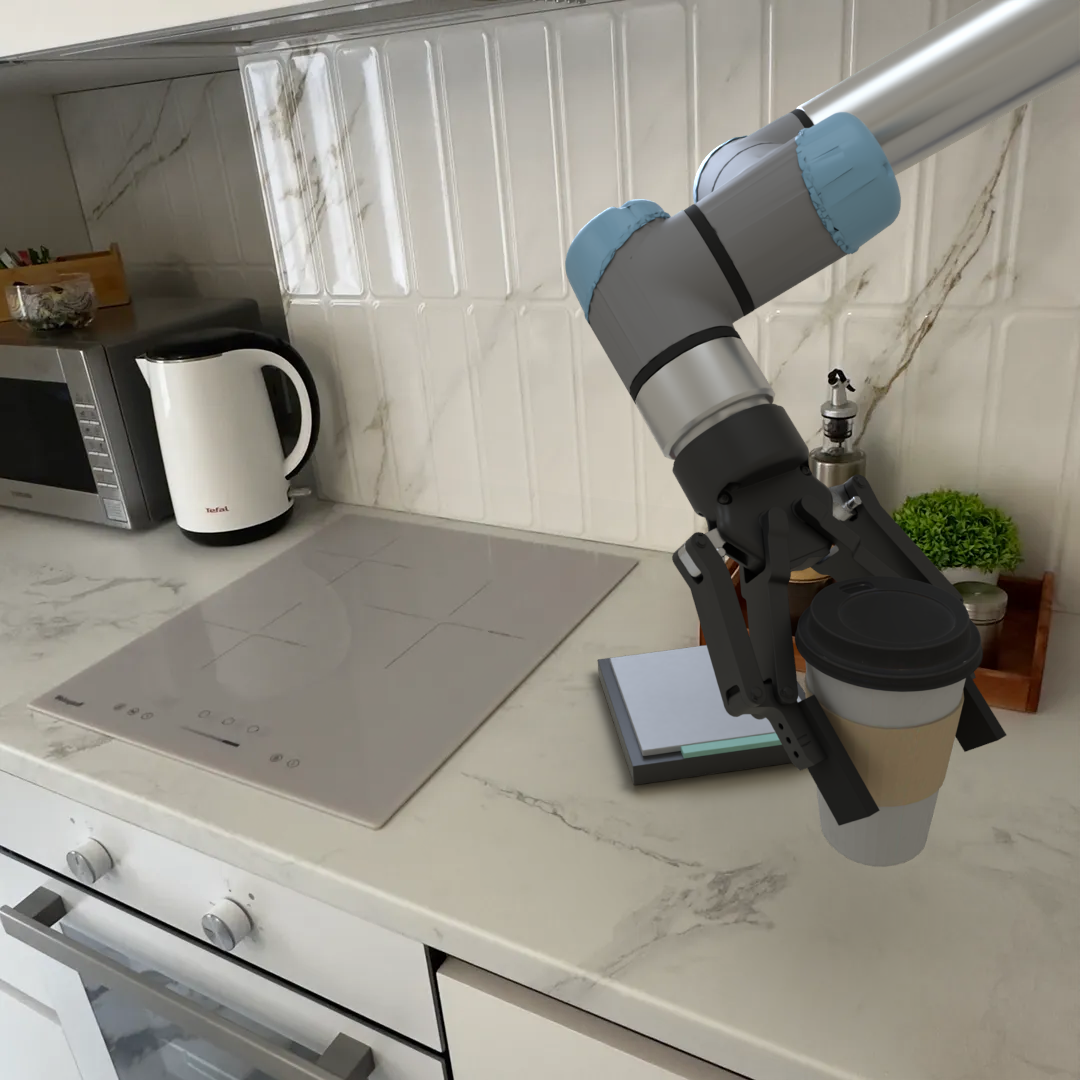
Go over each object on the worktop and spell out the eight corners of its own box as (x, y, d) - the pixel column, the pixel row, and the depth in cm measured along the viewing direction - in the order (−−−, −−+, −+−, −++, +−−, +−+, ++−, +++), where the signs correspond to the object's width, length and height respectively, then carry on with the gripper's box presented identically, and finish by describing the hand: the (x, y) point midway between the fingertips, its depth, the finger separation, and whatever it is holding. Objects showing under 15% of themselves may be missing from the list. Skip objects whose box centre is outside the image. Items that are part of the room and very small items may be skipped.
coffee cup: (842, 762, 63) (852, 554, 57) (988, 825, 57) (1017, 600, 51) (759, 840, 58) (760, 618, 51) (911, 920, 51) (934, 678, 45)
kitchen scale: (767, 653, 91) (768, 631, 90) (834, 756, 76) (835, 731, 75) (598, 675, 90) (597, 653, 89) (633, 785, 75) (632, 760, 74)
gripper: (821, 423, 67) (1005, 722, 61) (548, 511, 57) (736, 878, 51) (888, 360, 60) (1101, 686, 54) (594, 446, 50) (815, 858, 44)
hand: (924, 779), depth 52 cm, fingers closed on coffee cup, 9 cm apart
